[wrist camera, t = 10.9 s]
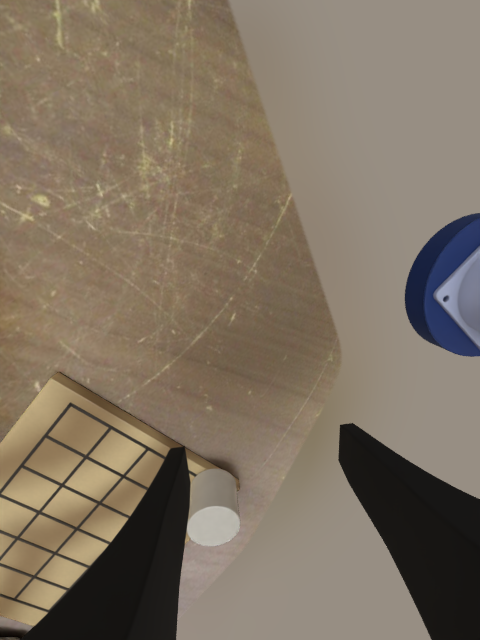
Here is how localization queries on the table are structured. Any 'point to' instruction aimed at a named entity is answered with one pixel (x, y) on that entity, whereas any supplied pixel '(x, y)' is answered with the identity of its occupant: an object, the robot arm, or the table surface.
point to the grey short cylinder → (213, 508)
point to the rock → (9, 638)
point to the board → (69, 491)
